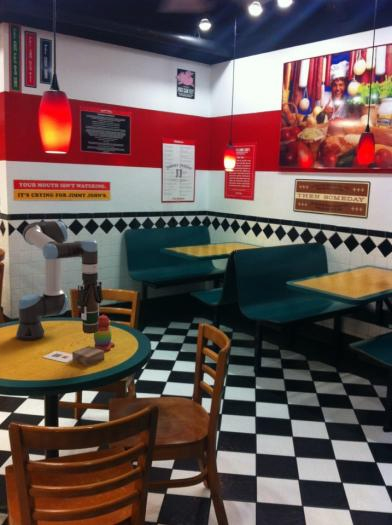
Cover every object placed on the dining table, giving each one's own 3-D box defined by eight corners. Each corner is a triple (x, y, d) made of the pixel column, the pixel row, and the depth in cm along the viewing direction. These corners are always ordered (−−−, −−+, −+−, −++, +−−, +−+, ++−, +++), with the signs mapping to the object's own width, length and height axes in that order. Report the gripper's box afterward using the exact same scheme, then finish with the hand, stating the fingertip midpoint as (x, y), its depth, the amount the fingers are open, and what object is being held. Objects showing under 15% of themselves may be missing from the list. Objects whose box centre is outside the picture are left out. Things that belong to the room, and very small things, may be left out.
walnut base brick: (72, 361, 253) (72, 351, 252) (88, 355, 262) (88, 345, 261) (88, 366, 247) (88, 357, 246) (104, 360, 256) (104, 350, 255)
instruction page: (42, 357, 256) (42, 356, 256) (55, 351, 265) (55, 350, 265) (66, 363, 250) (66, 362, 250) (79, 356, 259) (79, 355, 259)
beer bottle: (83, 328, 255) (83, 282, 250) (99, 328, 255) (99, 282, 251) (81, 333, 247) (80, 285, 243) (97, 333, 248) (97, 286, 243)
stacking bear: (108, 352, 266) (108, 319, 263) (90, 350, 268) (90, 317, 265) (115, 345, 277) (115, 313, 273) (98, 343, 279) (98, 312, 275)
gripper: (79, 276, 235) (79, 323, 239) (110, 269, 252) (110, 314, 256) (68, 274, 239) (68, 320, 244) (99, 267, 256) (99, 311, 260)
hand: (90, 317), depth 250 cm, fingers closed on beer bottle, 8 cm apart
